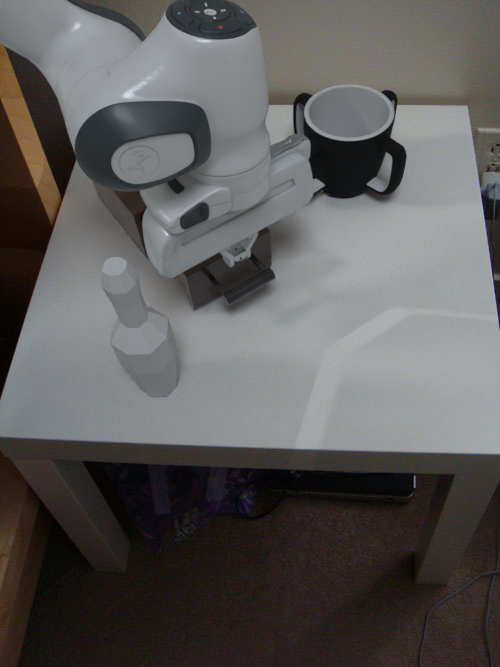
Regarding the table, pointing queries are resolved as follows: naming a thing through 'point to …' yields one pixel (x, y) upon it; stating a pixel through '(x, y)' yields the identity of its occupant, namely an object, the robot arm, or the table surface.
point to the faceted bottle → (139, 332)
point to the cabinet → (126, 212)
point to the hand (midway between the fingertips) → (237, 259)
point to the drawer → (229, 275)
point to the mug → (350, 139)
